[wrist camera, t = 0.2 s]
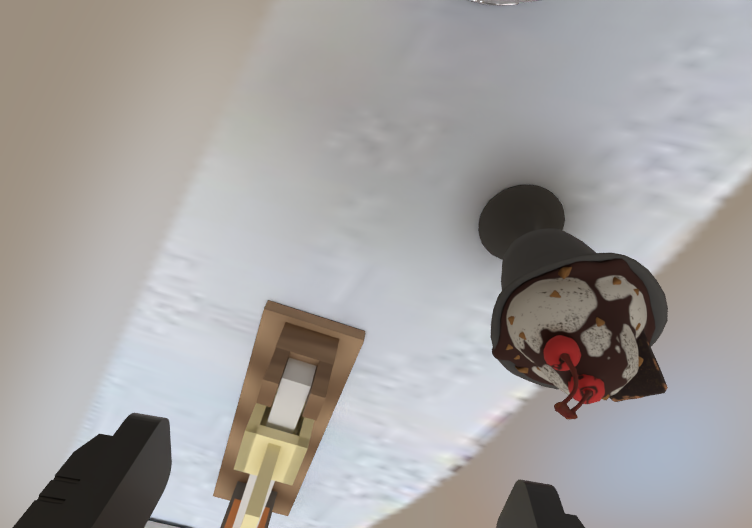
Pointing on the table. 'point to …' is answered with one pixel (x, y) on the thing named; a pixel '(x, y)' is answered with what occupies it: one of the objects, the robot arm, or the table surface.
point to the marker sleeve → (270, 456)
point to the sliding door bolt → (280, 418)
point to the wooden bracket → (266, 367)
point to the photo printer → (157, 525)
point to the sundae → (570, 305)
